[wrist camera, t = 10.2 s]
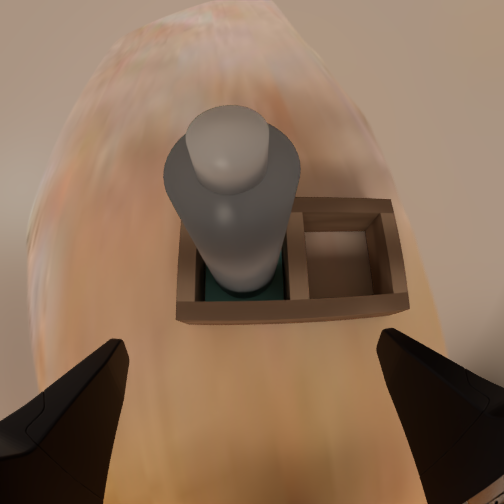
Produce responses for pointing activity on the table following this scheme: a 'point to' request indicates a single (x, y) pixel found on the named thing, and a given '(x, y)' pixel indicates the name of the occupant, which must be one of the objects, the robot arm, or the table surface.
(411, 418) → the robot arm
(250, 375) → the table surface
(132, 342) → the table surface
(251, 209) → the slate plug
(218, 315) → the box
